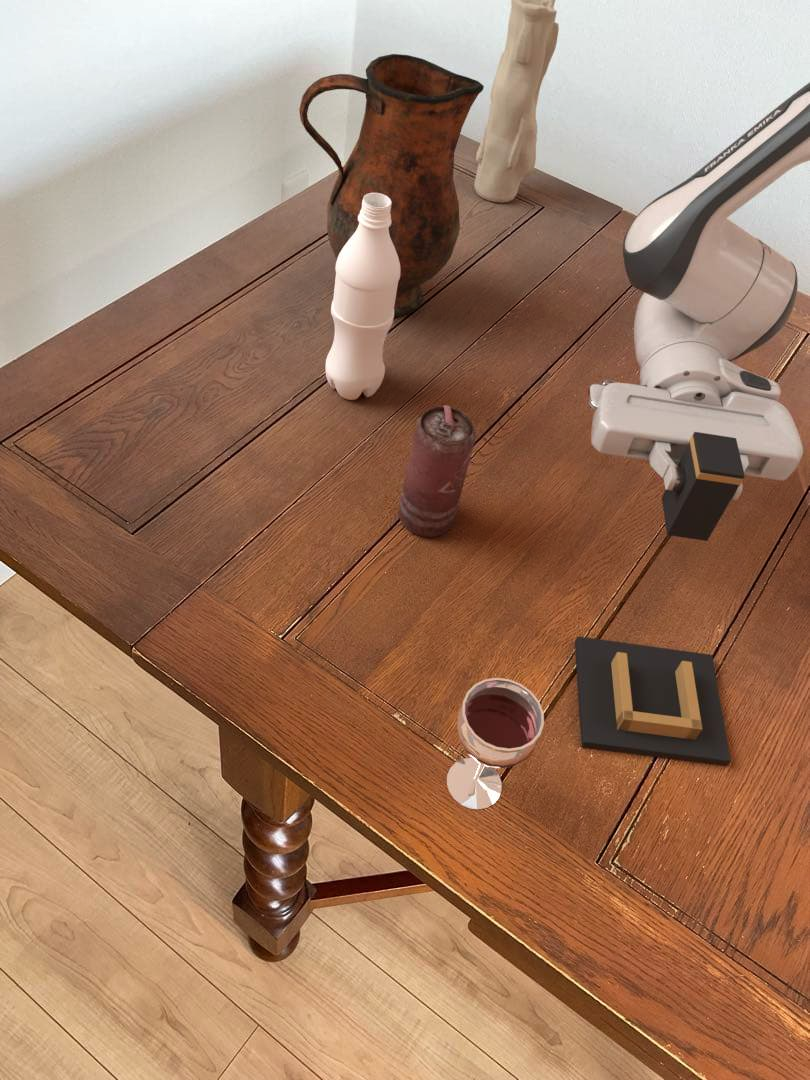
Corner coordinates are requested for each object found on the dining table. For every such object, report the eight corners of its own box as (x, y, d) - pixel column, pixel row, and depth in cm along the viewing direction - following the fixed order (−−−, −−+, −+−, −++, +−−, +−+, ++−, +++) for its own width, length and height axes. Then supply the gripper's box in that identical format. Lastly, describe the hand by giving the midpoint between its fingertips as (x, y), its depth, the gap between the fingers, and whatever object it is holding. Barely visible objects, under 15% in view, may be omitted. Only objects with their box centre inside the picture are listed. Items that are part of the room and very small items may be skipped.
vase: (489, 173, 158) (533, -27, 135) (533, 194, 155) (585, -6, 133) (461, 191, 153) (502, -13, 130) (506, 214, 150) (556, 9, 128)
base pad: (708, 659, 99) (719, 643, 96) (726, 766, 91) (739, 750, 88) (574, 641, 98) (582, 624, 96) (581, 747, 90) (590, 731, 88)
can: (446, 495, 109) (469, 401, 98) (457, 538, 105) (483, 444, 94) (393, 497, 107) (411, 401, 97) (403, 540, 103) (423, 445, 93)
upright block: (701, 503, 96) (736, 437, 89) (707, 541, 93) (745, 476, 86) (660, 497, 96) (693, 430, 89) (666, 535, 93) (701, 469, 86)
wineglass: (475, 735, 89) (503, 663, 80) (527, 789, 86) (562, 721, 77) (420, 776, 86) (443, 705, 77) (473, 834, 83) (503, 767, 74)
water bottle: (336, 410, 115) (358, 222, 97) (315, 372, 119) (332, 185, 101) (391, 400, 118) (422, 215, 99) (368, 363, 122) (394, 179, 103)
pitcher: (456, 332, 129) (505, 111, 106) (297, 336, 123) (313, 104, 101) (428, 260, 139) (467, 44, 116) (280, 260, 134) (291, 35, 111)
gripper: (596, 354, 96) (605, 449, 87) (794, 385, 97) (824, 482, 88) (578, 402, 101) (586, 497, 92) (768, 431, 102) (794, 528, 93)
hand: (704, 490), depth 90 cm, fingers closed on upright block, 4 cm apart
